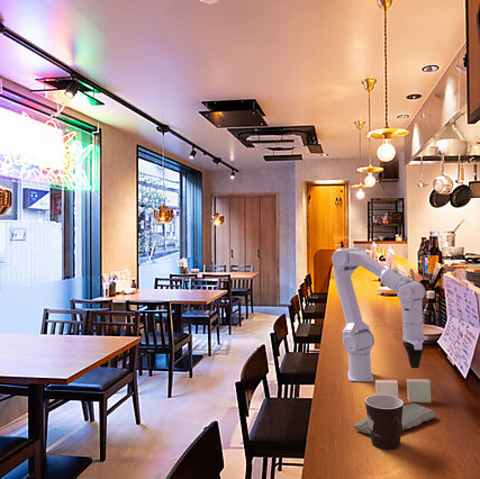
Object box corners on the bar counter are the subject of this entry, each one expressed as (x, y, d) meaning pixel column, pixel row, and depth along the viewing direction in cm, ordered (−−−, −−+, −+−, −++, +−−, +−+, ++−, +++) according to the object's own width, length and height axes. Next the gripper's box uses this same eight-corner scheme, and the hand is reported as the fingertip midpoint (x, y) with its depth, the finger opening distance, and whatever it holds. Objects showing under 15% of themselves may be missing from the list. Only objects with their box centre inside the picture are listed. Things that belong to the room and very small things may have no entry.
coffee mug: (366, 433, 110) (365, 393, 110) (403, 436, 108) (402, 395, 107) (366, 457, 99) (364, 412, 99) (407, 461, 96) (405, 415, 96)
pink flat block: (407, 399, 130) (406, 379, 130) (429, 399, 129) (428, 379, 129) (408, 402, 128) (408, 381, 128) (431, 402, 127) (430, 381, 127)
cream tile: (376, 400, 131) (375, 379, 130) (397, 400, 129) (396, 380, 129) (376, 402, 129) (376, 382, 128) (398, 403, 127) (397, 382, 127)
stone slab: (439, 422, 116) (407, 406, 124) (440, 412, 116) (407, 396, 124) (380, 447, 104) (349, 427, 113) (381, 436, 104) (350, 417, 113)
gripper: (432, 327, 125) (434, 375, 125) (421, 317, 139) (423, 360, 139) (406, 327, 126) (408, 375, 126) (397, 317, 140) (400, 360, 141)
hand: (414, 367), depth 133 cm, fingers closed
